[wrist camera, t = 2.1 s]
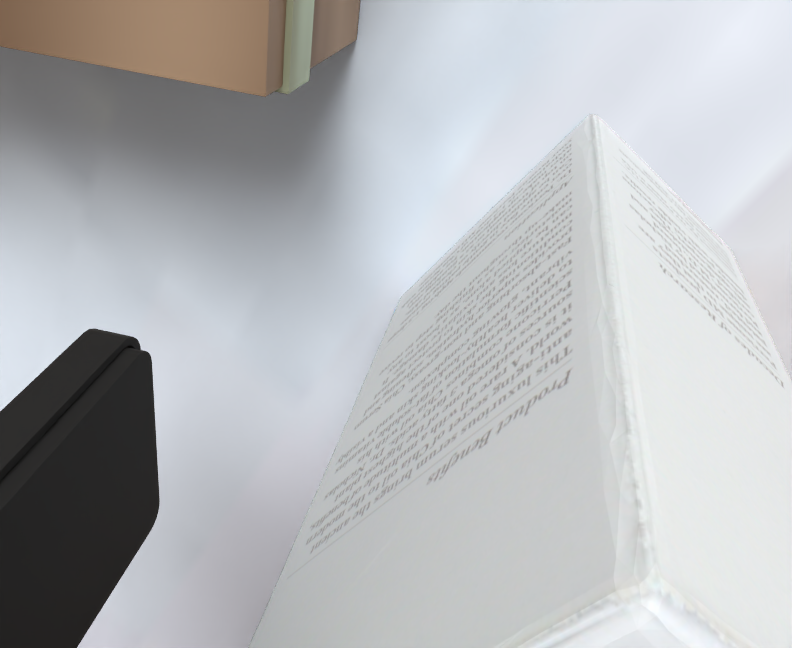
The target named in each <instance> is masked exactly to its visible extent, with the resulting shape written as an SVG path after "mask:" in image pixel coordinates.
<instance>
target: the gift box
mask: <svg viewBox="0 0 792 648" xmlns="http://www.w3.org/2000/svg"><path fill="white" fill-rule="evenodd" d="M359 9H360V0H0V46H1V47H6V48H11V49H17V50H22V51H27V52H32V53H38V54H43V55H48V56H53V57H59V58H64V59H69V60H74V61H80V62H85V63H90V64H95V65H101V66H106V67H111V68H117V69H122V70H127V71H132V72H138V73H143V74H148V75H153V76H159V77H164V78H169V79H174V80H180V81H185V82H190V83H195V84H201V85H206V86H211V87H216V88H222V89H227V90H232V91H237V92H243V93H248V94H253V95H258V96H264V97H266V96H268V95H269V94H271V93H272V92H279V93H285V94H290V93H291V92H293V91H294V90H296V89H297V88H299V87H300V86H302V85H303V84H305V83H306V82H308V81H309V76H310V69H311V68H312V67H314V66H316V65H317V64H319V63H320V62H322V61H324V60H325V59H327V58H328V57H330V56H332V55H333V54H335V53H336V52H338V51H340V50H341V49H343V48H344V47H346V46H348V45H349V44H351V43H352V42H354V41H356V40H357V30H358V19H359Z"/></svg>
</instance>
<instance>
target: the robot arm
mask: <svg viewBox="0 0 792 648" xmlns="http://www.w3.org/2000/svg"><path fill="white" fill-rule="evenodd" d="M158 509H159V484H158V466H157V448H156V430H155V412H154V394H153V375H152V361H151V356H150V354H149V353H148V352H146V351H142V350H141V348H140V344H139V342H138V340H137V339H136V338H134V337H131V336H126V335H122V334H117V333H112V332H108V331H103V330H98V329H89V330H87V331H86V332H84V333H83V334H82V335H81V336H80V337H79V338H78V339H77V340H76V341H75V342H73V343H72V344H71V345H70V346H69V347H68V348H67V349H66V350H65V351H64V352H63V353H62V354H61V355H60V356H59V357H58V358H57V359H55V360H54V361H53V362H52V363H51V364H50V365H49V366H48V367H47V368H46V369H45V370H44V371H43V372H42V373H41V374H40V375H39V376H38V377H36V378H35V379H34V380H33V381H32V382H31V383H30V384H29V385H28V386H27V387H26V388H25V389H24V390H23V391H22V392H21V393H20V394H18V395H17V396H16V397H15V398H14V399H13V400H12V401H11V402H10V403H9V404H8V405H7V406H6V407H5V408H4V409H3V410H2V411H0V648H77V647H78V645H79V643H80V642H81V640H82V639H83V637H84V635H85V634H86V632H87V631H88V629H89V628H90V626H91V624H92V623H93V621H94V620H95V618H96V616H97V615H98V613H99V612H100V610H101V609H102V607H103V605H104V604H105V602H106V601H107V599H108V597H109V596H110V594H111V593H112V591H113V590H114V588H115V586H116V585H117V583H118V582H119V580H120V578H121V577H122V575H123V574H124V572H125V570H126V569H127V567H128V566H129V564H130V563H131V561H132V559H133V558H134V556H135V555H136V553H137V551H138V550H139V548H140V547H141V545H142V544H143V542H144V540H145V539H146V537H147V536H148V534H149V532H150V531H151V529H152V527H153V525H154V523H155V520H156V517H157V514H158Z"/></svg>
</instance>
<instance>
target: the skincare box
mask: <svg viewBox="0 0 792 648" xmlns="http://www.w3.org/2000/svg"><path fill="white" fill-rule="evenodd" d="M248 648H792V380H791V378H790V376H789V374H788V371H787V369H786V367H785V365H784V363H783V361H782V358H781V356H780V354H779V352H778V350H777V348H776V346H775V343H774V341H773V339H772V337H771V335H770V333H769V331H768V329H767V326H766V324H765V322H764V320H763V318H762V316H761V314H760V311H759V309H758V307H757V305H756V303H755V300H754V298H753V296H752V294H751V292H750V289H749V287H748V285H747V283H746V281H745V278H744V276H743V274H742V272H741V270H740V268H739V265H738V263H737V261H736V259H735V257H734V254H733V252H732V250H731V249H730V247H729V246H728V245H727V244H726V243H725V242H724V241H723V240H722V239H721V238H720V237H719V236H718V235H717V234H716V233H715V232H714V231H713V230H712V229H710V228H709V227H708V226H707V225H706V224H705V223H704V222H703V221H702V220H701V219H700V218H699V217H698V215H697V214H696V213H695V212H694V211H693V210H692V209H691V208H690V207H689V206H688V205H687V204H686V203H685V202H684V201H683V200H682V199H681V198H680V197H679V196H678V195H677V194H676V193H675V192H674V191H673V190H672V189H671V188H670V187H669V186H668V185H667V184H666V183H665V182H664V181H663V180H662V179H661V178H660V177H659V176H658V174H657V173H656V172H655V171H654V170H653V169H652V168H651V167H650V166H649V165H648V164H647V163H646V162H645V161H644V160H643V159H642V158H641V157H640V156H639V155H638V154H637V153H636V152H635V151H634V150H633V149H632V148H631V147H630V146H629V145H628V144H627V143H626V142H625V141H624V140H623V139H622V138H621V137H620V136H619V135H618V134H617V133H616V132H615V131H614V130H613V129H612V128H611V127H610V126H609V125H608V124H607V123H606V122H605V121H604V120H603V119H601V118H600V117H599V116H598V115H595V114H590V115H588V116H587V117H586V118H585V119H584V120H583V121H582V122H581V123H580V124H579V125H578V126H577V127H576V128H575V129H574V130H572V131H571V132H570V133H569V134H568V135H567V136H566V137H565V138H564V139H563V140H562V141H561V142H560V143H559V144H558V145H557V146H556V147H555V148H554V149H553V150H552V151H551V152H550V153H549V154H548V155H547V156H546V157H545V158H543V159H542V160H541V161H540V162H539V163H538V164H537V165H536V166H535V167H534V168H533V169H532V170H531V171H530V172H529V173H528V174H527V175H526V176H525V177H524V178H523V179H522V180H521V181H520V182H519V183H518V184H517V185H516V186H515V187H514V188H513V189H512V190H511V191H510V192H509V193H508V194H507V195H506V196H505V197H504V198H502V199H501V200H500V201H499V202H498V203H497V204H496V205H495V206H494V207H493V208H492V209H491V210H490V211H489V212H488V213H487V214H486V215H485V216H484V217H483V218H482V219H481V220H480V221H479V222H478V223H477V224H476V225H475V226H473V227H472V228H471V229H470V230H469V231H468V232H467V233H466V234H465V235H464V236H463V237H462V238H461V239H460V240H459V241H458V242H457V243H456V244H455V245H454V246H453V247H452V248H451V249H450V250H449V251H448V252H447V253H446V254H445V255H444V256H443V257H442V258H441V259H440V260H439V261H438V262H437V263H436V264H435V265H434V266H433V267H431V268H430V269H429V270H428V271H427V272H426V273H425V274H424V275H423V276H422V277H421V278H420V279H419V280H418V281H417V282H416V283H415V284H414V285H413V286H412V287H411V288H410V289H409V290H408V291H407V292H405V294H404V295H403V296H402V297H401V298H400V300H399V303H398V305H397V307H396V310H395V312H394V314H393V317H392V319H391V321H390V324H389V326H388V328H387V330H386V332H385V335H384V338H383V340H382V342H381V344H380V346H379V348H378V350H377V353H376V355H375V358H374V360H373V362H372V365H371V367H370V370H369V372H368V374H367V376H366V379H365V381H364V383H363V385H362V388H361V390H360V392H359V395H358V397H357V400H356V402H355V405H354V407H353V409H352V412H351V414H350V416H349V419H348V421H347V423H346V425H345V428H344V430H343V432H342V435H341V437H340V440H339V442H338V444H337V446H336V449H335V451H334V453H333V455H332V458H331V460H330V462H329V465H328V467H327V469H326V472H325V474H324V476H323V479H322V481H321V483H320V486H319V488H318V490H317V492H316V495H315V497H314V499H313V501H312V503H311V506H310V508H309V510H308V512H307V514H306V516H305V518H304V521H303V524H302V526H301V528H300V531H299V533H298V535H297V537H296V540H295V542H294V544H293V547H292V549H291V551H290V554H289V556H288V558H287V561H286V563H285V565H284V568H283V570H282V572H281V575H280V577H279V579H278V582H277V584H276V586H275V588H274V591H273V593H272V595H271V598H270V600H269V602H268V605H267V607H266V609H265V612H264V614H263V616H262V618H261V621H260V623H259V625H258V627H257V629H256V632H255V634H254V636H253V638H252V640H251V643H250V645H249V647H248Z"/></svg>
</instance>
